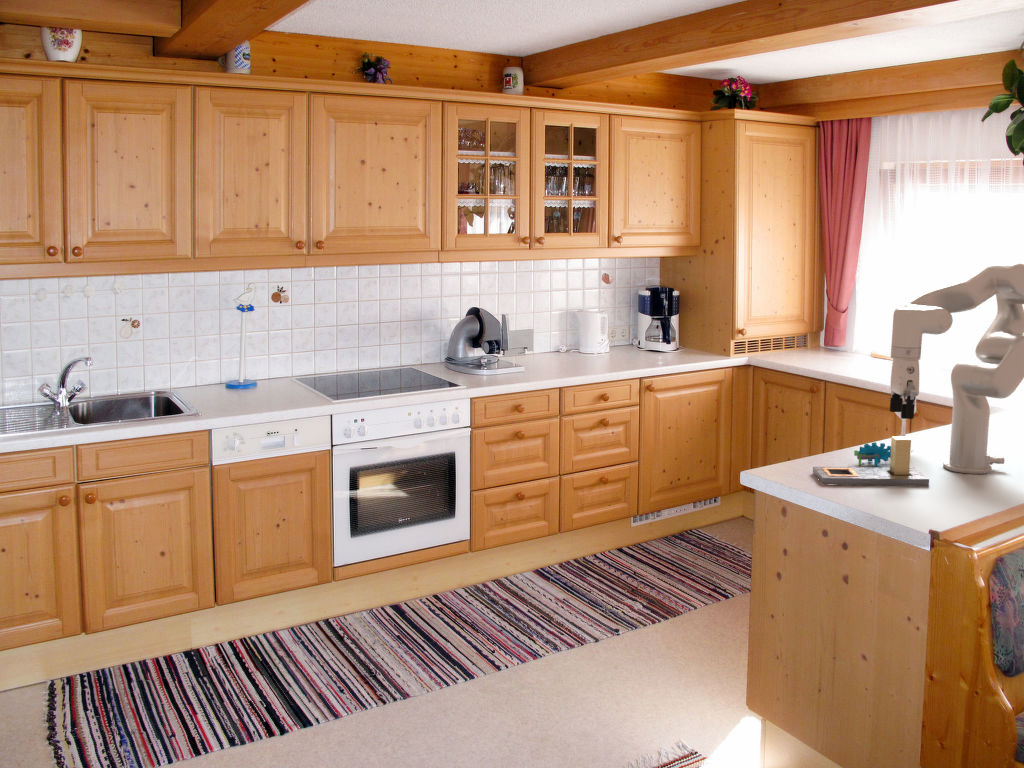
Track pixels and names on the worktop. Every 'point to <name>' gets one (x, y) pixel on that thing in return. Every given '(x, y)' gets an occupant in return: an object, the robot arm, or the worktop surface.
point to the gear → (873, 453)
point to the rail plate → (868, 476)
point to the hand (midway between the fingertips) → (901, 415)
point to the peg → (900, 456)
